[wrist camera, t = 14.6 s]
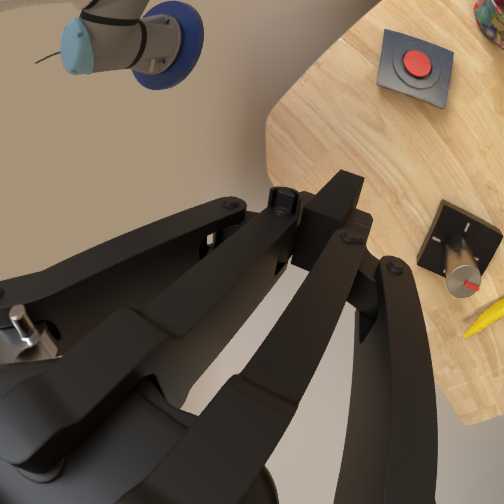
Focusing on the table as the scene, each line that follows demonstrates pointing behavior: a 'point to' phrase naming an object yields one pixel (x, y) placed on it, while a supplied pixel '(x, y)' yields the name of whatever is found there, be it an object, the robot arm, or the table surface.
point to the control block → (401, 81)
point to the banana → (486, 318)
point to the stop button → (417, 64)
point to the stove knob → (460, 266)
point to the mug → (491, 19)
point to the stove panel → (458, 222)
